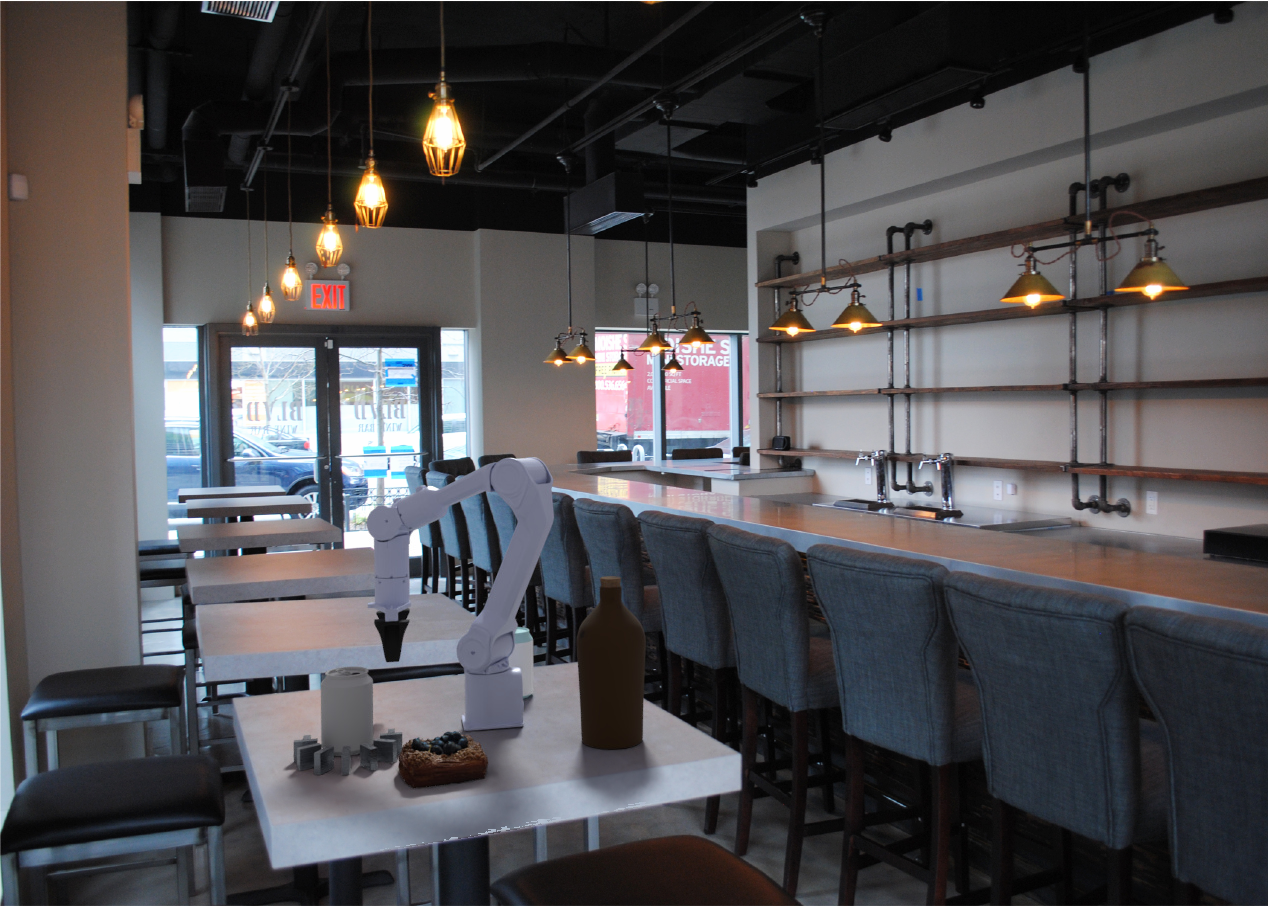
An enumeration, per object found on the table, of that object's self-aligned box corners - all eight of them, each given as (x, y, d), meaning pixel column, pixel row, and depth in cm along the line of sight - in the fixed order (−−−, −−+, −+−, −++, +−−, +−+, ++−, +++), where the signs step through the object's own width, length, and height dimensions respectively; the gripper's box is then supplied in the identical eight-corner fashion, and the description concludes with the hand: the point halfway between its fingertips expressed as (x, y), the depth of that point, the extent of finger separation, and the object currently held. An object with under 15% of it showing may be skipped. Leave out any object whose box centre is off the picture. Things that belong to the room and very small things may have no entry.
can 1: (355, 760, 139) (355, 677, 139) (310, 755, 141) (310, 674, 141) (383, 744, 146) (382, 665, 146) (339, 740, 148) (339, 663, 148)
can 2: (499, 703, 169) (498, 635, 169) (490, 693, 175) (489, 628, 175) (538, 698, 171) (537, 631, 171) (527, 689, 178) (527, 625, 178)
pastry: (392, 768, 136) (392, 727, 136) (475, 757, 141) (475, 717, 141) (406, 794, 126) (405, 750, 126) (495, 781, 130) (495, 738, 130)
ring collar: (402, 747, 144) (402, 727, 144) (401, 770, 134) (401, 748, 134) (296, 756, 141) (296, 735, 141) (287, 779, 131) (287, 757, 131)
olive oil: (625, 755, 140) (623, 584, 139) (564, 745, 145) (562, 580, 145) (658, 735, 149) (657, 575, 149) (600, 726, 154) (598, 571, 154)
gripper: (369, 571, 168) (370, 649, 168) (365, 583, 154) (366, 667, 154) (410, 570, 169) (411, 646, 170) (410, 581, 155) (411, 665, 155)
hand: (393, 656), depth 162 cm, fingers open, 7 cm apart
